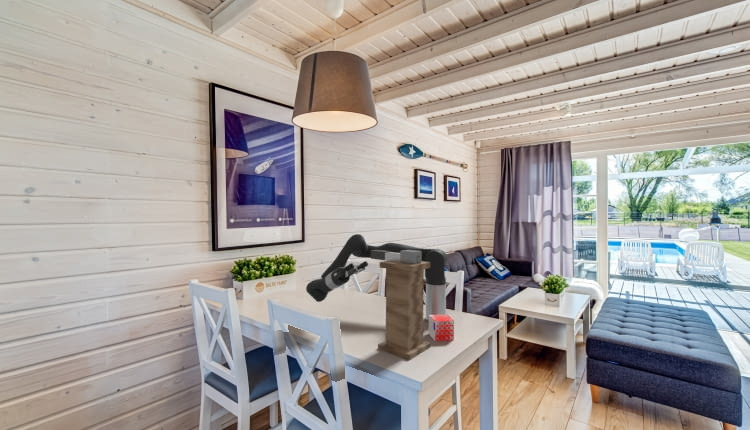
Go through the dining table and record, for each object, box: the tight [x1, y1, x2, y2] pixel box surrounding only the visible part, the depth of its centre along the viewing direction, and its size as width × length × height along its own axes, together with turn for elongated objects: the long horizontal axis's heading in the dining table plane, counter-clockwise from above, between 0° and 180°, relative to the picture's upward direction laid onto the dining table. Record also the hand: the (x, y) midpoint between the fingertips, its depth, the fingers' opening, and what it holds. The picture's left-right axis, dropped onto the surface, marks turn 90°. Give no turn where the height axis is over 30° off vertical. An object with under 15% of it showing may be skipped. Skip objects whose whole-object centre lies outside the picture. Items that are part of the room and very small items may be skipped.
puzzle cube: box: [428, 313, 455, 342], centre depth 131 cm, size 8×8×8 cm
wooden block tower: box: [377, 260, 431, 360], centre depth 119 cm, size 14×14×32 cm
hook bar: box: [370, 250, 422, 264], centre depth 122 cm, size 5×21×4 cm, turn 50°
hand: (360, 264), depth 135 cm, fingers open, 8 cm apart
